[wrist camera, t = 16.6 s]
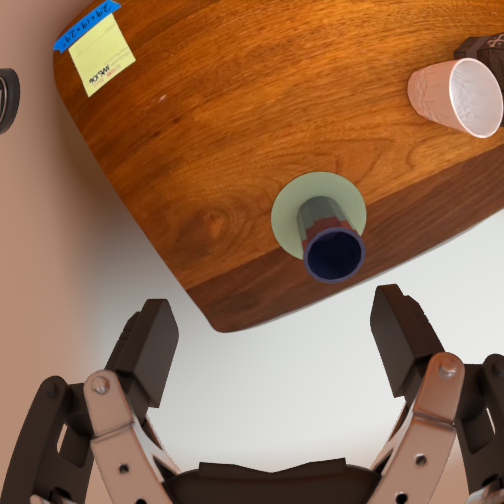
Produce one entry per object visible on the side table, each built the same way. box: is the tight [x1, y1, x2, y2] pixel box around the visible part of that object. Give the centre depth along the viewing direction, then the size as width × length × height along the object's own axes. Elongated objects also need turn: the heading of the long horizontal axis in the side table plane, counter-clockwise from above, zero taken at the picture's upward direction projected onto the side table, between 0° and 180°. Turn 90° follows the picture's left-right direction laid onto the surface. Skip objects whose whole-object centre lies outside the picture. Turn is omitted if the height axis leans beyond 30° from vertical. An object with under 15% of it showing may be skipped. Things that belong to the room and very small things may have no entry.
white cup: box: [407, 58, 503, 138], centre depth 20 cm, size 8×8×10 cm
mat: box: [271, 171, 366, 260], centre depth 33 cm, size 12×12×1 cm
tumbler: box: [296, 196, 365, 283], centre depth 29 cm, size 6×6×9 cm
